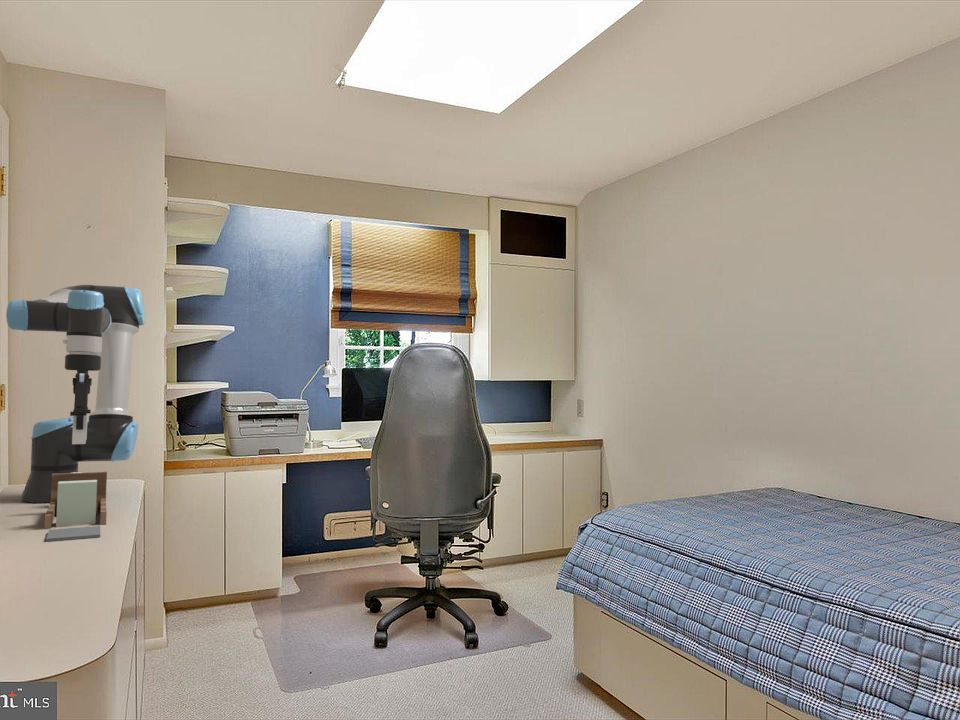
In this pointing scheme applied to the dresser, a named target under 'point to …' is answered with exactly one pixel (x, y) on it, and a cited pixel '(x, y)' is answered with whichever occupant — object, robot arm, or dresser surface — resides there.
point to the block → (76, 502)
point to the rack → (98, 476)
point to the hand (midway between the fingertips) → (79, 442)
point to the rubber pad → (73, 533)
